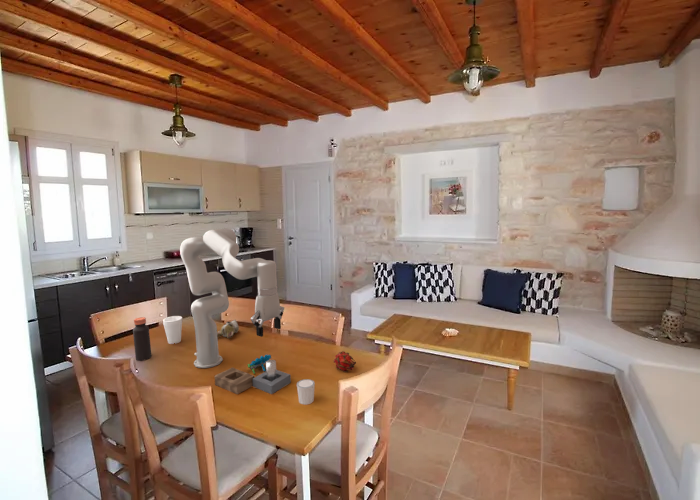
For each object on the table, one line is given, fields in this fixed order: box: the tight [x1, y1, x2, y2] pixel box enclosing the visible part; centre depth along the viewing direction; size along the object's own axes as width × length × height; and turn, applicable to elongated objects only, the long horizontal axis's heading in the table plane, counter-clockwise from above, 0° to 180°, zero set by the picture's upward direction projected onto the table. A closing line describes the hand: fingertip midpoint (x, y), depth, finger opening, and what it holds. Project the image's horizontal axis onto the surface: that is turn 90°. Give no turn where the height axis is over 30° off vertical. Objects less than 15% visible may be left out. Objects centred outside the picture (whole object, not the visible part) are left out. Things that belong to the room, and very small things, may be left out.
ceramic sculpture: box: [217, 319, 240, 339], centre depth 206 cm, size 11×9×15 cm
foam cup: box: [162, 315, 183, 345], centre depth 198 cm, size 10×9×13 cm
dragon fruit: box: [333, 350, 357, 373], centre depth 163 cm, size 8×8×12 cm
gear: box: [247, 354, 272, 374], centre depth 164 cm, size 11×6×10 cm
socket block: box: [252, 369, 292, 395], centre depth 151 cm, size 11×11×4 cm
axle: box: [265, 359, 277, 382], centre depth 150 cm, size 4×4×10 cm
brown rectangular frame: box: [214, 367, 255, 395], centre depth 151 cm, size 14×9×4 cm, turn 56°
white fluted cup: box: [296, 378, 316, 406], centre depth 138 cm, size 7×7×7 cm
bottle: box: [132, 316, 152, 362], centre depth 177 cm, size 7×7×20 cm
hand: (268, 332), depth 148 cm, fingers open, 9 cm apart
